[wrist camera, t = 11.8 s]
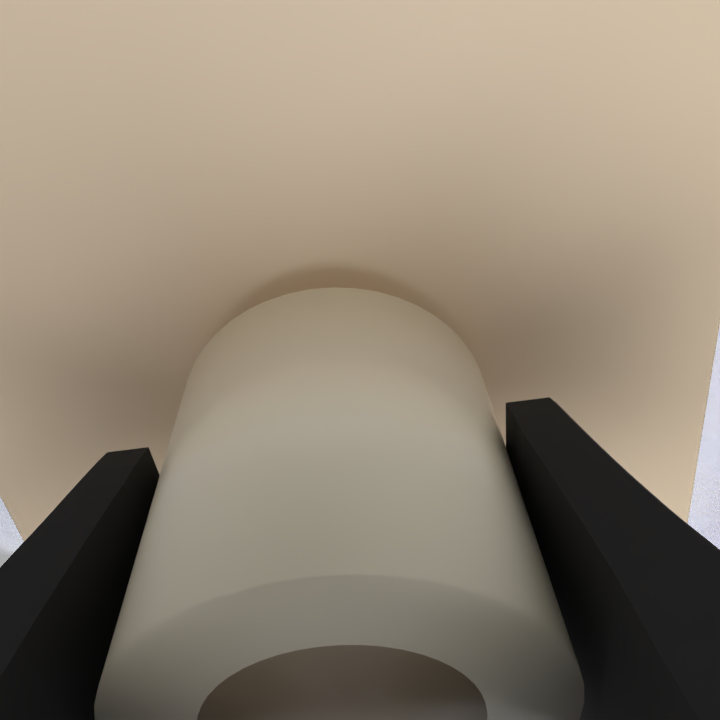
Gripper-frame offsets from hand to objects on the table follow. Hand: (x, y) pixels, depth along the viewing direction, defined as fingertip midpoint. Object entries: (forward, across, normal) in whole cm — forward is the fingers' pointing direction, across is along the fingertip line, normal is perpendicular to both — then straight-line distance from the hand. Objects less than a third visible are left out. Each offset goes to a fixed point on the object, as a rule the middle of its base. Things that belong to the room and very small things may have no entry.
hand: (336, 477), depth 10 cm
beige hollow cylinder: (+2, 0, 0) cm, 2 cm away
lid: (+3, 0, -1) cm, 3 cm away
